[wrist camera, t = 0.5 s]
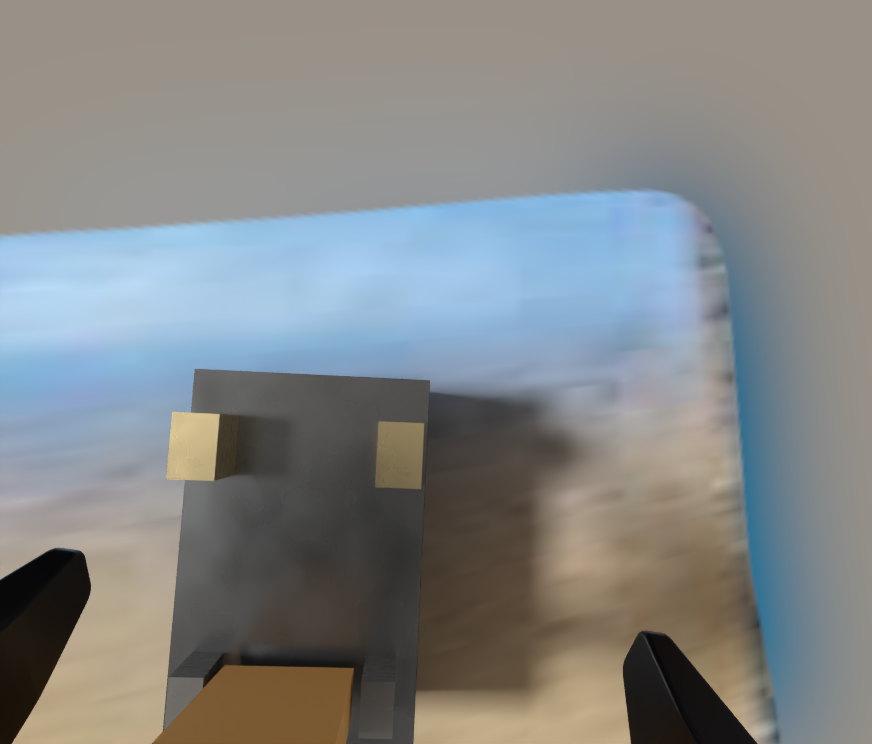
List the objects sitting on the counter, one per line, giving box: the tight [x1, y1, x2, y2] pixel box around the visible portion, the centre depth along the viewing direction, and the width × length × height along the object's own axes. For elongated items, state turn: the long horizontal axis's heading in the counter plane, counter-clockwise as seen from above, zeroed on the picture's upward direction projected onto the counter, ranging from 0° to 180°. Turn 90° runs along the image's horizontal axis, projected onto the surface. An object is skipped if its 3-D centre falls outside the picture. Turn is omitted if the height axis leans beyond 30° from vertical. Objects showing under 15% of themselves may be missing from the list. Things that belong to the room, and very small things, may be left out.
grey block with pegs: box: [163, 369, 430, 744], centre depth 20 cm, size 13×8×8 cm, turn 177°
